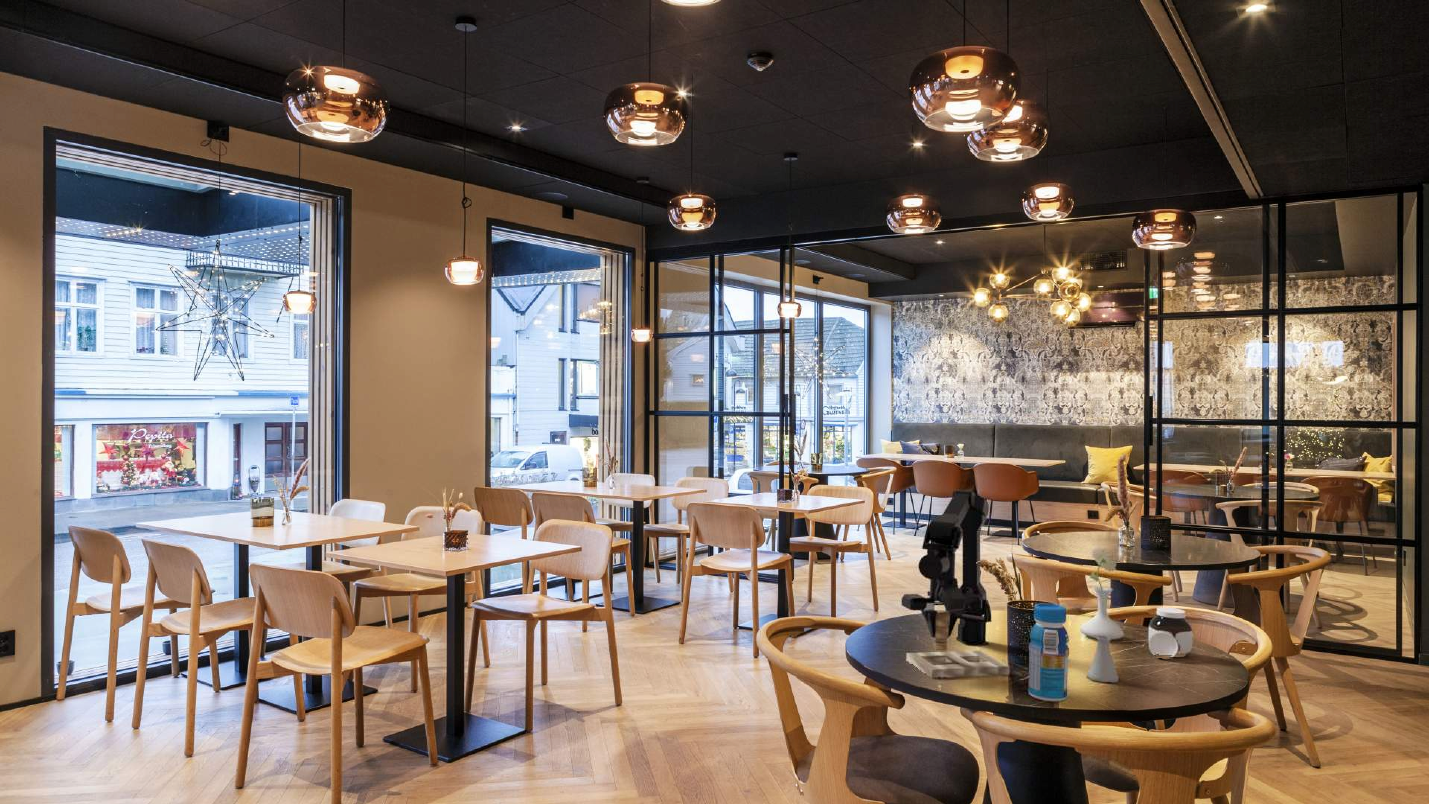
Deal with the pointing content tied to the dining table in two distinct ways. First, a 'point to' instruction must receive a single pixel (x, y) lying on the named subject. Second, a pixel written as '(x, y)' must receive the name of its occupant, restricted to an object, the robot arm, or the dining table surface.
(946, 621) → the peg
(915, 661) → the board
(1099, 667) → the flask
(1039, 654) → the beverage bottle
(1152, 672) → the dining table surface
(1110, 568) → the flower in vase
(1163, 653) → the spread jar
